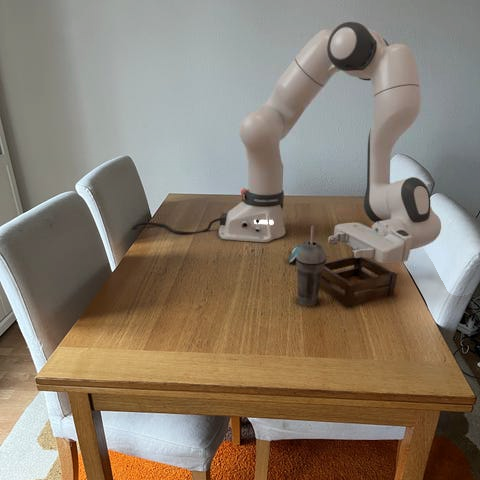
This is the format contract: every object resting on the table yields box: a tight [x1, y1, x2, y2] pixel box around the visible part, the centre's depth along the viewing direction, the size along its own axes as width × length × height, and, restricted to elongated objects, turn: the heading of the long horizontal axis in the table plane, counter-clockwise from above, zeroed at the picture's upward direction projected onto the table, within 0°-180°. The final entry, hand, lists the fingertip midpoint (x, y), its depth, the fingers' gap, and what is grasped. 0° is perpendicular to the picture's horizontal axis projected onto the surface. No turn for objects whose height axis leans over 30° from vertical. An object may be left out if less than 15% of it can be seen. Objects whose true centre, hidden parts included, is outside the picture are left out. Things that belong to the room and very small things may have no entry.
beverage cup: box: [295, 225, 327, 307], centre depth 114 cm, size 7×7×20 cm
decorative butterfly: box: [288, 241, 306, 264], centre depth 140 cm, size 10×6×10 cm
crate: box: [319, 255, 398, 309], centre depth 123 cm, size 15×15×6 cm
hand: (341, 247), depth 116 cm, fingers open, 8 cm apart
